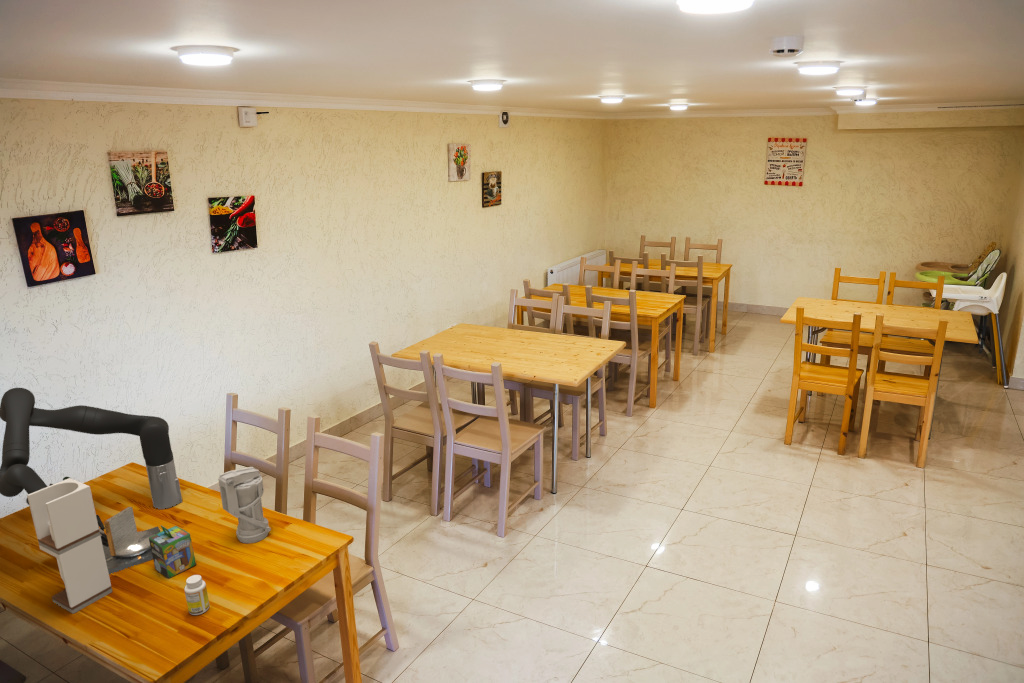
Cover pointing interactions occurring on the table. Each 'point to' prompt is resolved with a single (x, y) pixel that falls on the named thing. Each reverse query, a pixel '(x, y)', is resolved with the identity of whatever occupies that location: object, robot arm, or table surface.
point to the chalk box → (172, 551)
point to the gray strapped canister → (245, 502)
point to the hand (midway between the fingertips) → (110, 543)
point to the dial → (126, 535)
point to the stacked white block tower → (71, 541)
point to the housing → (125, 562)
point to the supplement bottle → (196, 595)
